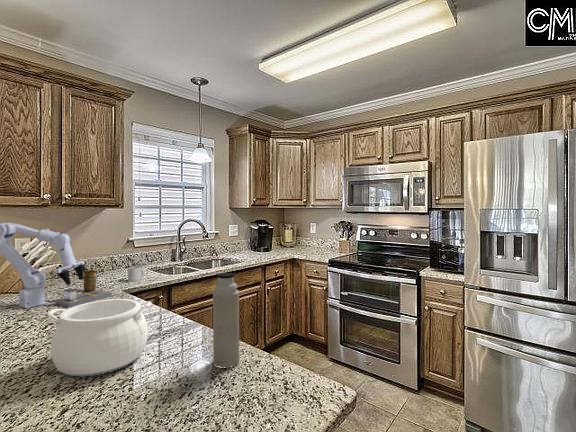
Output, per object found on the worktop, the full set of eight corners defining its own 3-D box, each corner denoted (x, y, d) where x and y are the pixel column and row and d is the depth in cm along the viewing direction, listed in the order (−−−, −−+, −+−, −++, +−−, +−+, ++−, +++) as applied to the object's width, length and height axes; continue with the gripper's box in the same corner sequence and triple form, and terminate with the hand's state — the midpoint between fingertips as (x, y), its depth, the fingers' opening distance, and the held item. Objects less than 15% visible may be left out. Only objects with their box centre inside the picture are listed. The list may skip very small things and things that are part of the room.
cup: (126, 280, 210) (126, 267, 210) (142, 278, 217) (142, 265, 216) (129, 282, 205) (129, 269, 204) (146, 280, 211) (145, 267, 211)
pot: (27, 390, 84) (26, 326, 84) (66, 348, 110) (65, 299, 109) (145, 374, 92) (145, 316, 92) (156, 338, 118) (156, 292, 117)
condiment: (95, 288, 190) (95, 268, 190) (98, 291, 184) (97, 271, 183) (81, 290, 186) (81, 270, 185) (83, 293, 179) (83, 272, 179)
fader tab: (69, 300, 158) (69, 291, 158) (64, 298, 160) (63, 289, 160) (76, 298, 161) (76, 289, 160) (70, 297, 163) (70, 288, 163)
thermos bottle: (208, 363, 99) (207, 274, 98) (228, 354, 105) (227, 270, 104) (224, 371, 94) (224, 277, 93) (244, 361, 100) (244, 273, 99)
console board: (68, 307, 154) (68, 303, 154) (55, 304, 160) (55, 299, 160) (111, 296, 174) (111, 292, 173) (98, 293, 179) (98, 289, 179)
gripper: (60, 259, 154) (69, 285, 155) (85, 251, 168) (93, 276, 169) (49, 262, 156) (58, 288, 157) (74, 254, 170) (82, 278, 171)
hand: (75, 282), depth 163 cm, fingers open, 7 cm apart
